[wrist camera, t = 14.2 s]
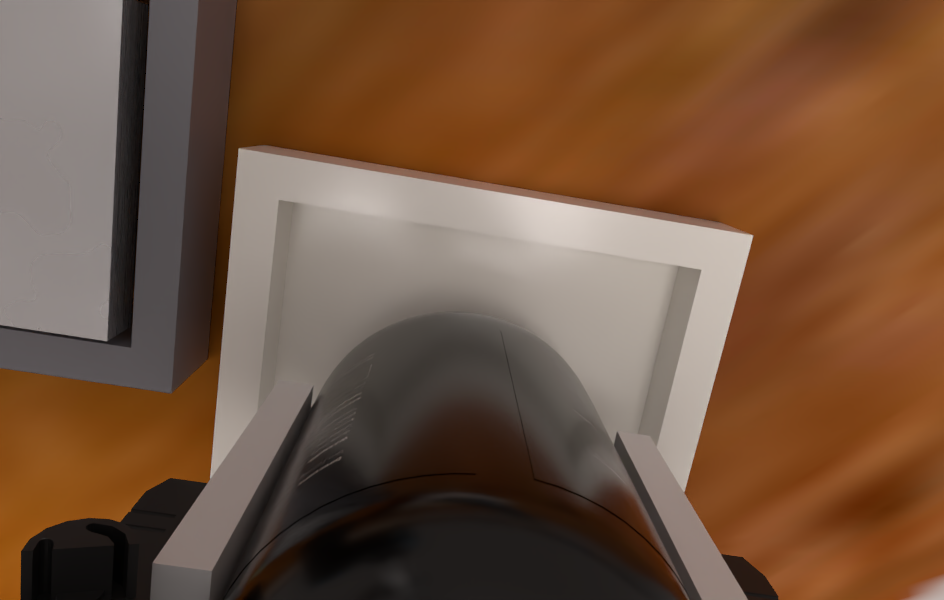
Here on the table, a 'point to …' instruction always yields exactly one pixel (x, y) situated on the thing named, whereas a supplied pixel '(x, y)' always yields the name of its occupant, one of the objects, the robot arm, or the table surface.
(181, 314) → the grey square framed panel
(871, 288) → the table surface
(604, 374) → the dish
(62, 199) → the grey square tile
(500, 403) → the supplement bottle
